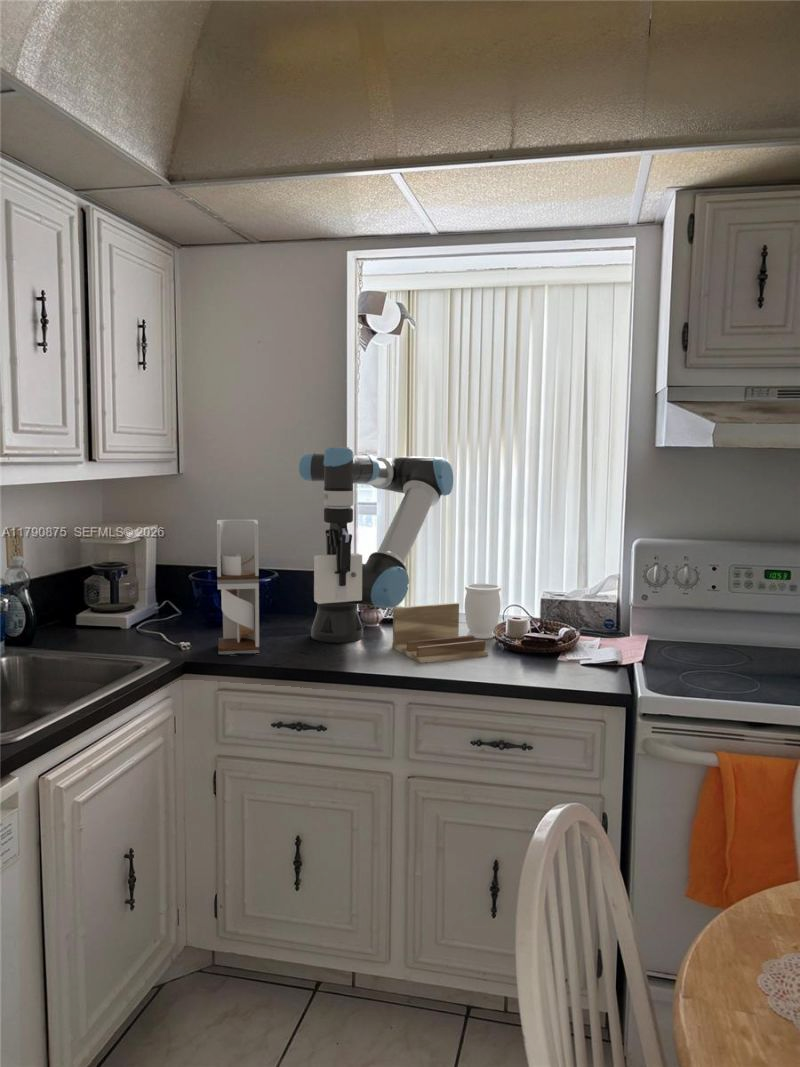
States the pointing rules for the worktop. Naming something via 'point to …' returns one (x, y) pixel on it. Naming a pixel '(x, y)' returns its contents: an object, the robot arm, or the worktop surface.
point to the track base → (433, 633)
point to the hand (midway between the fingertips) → (338, 596)
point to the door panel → (327, 579)
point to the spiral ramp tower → (238, 585)
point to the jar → (482, 609)
